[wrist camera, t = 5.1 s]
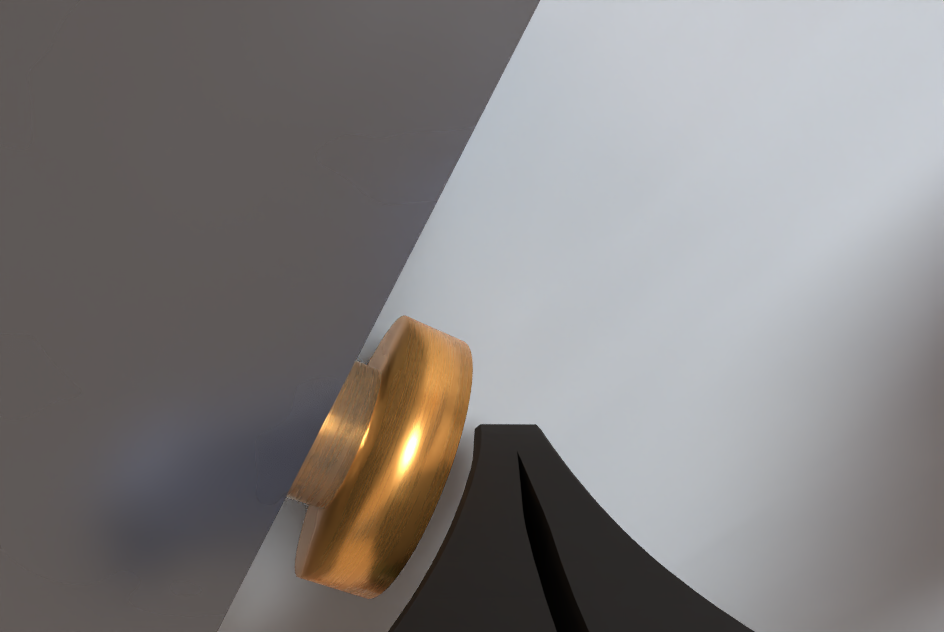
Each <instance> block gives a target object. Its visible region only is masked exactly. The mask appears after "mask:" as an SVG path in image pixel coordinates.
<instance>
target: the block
mask: <svg viewBox="0 0 944 632" xmlns="http://www.w3.org/2000/svg"><path fill="white" fill-rule="evenodd" d="M539 1H540V0H0V632H217V630H218V629H219V627H220V625H221V623H222V621H223V619H224V617H225V615H226V613H227V611H228V609H229V607H230V605H231V603H232V601H233V599H234V597H235V595H236V593H237V591H238V589H239V588H240V586H241V584H242V582H243V580H244V578H245V576H246V574H247V572H248V570H249V568H250V566H251V564H252V562H253V560H254V558H255V556H256V554H257V552H258V550H259V548H260V546H261V545H262V543H263V541H264V539H265V537H266V535H267V533H268V531H269V529H270V527H271V525H272V523H273V521H274V519H275V517H276V515H277V513H278V511H279V509H280V507H281V505H282V504H283V502H284V500H285V498H286V496H287V494H288V492H289V490H290V488H291V486H292V484H293V482H294V480H295V478H296V476H297V474H298V472H299V470H300V468H301V466H302V464H303V462H304V461H305V459H306V457H307V455H308V453H309V451H310V449H311V447H312V445H313V443H314V441H315V439H316V437H317V435H318V433H319V431H320V429H321V427H322V425H323V423H324V421H325V420H326V418H327V416H328V414H329V412H330V410H331V408H332V406H333V404H334V402H335V400H336V398H337V396H338V394H339V392H340V390H341V388H342V386H343V384H344V382H345V380H346V378H347V377H348V375H349V373H350V371H351V369H352V367H353V365H354V363H355V361H356V359H357V357H358V355H359V353H360V351H361V349H362V347H363V345H364V343H365V341H366V339H367V337H368V336H369V334H370V332H371V330H372V328H373V326H374V324H375V322H376V320H377V318H378V316H379V314H380V312H381V310H382V308H383V306H384V304H385V302H386V300H387V298H388V296H389V294H390V293H391V291H392V289H393V287H394V285H395V283H396V281H397V279H398V277H399V275H400V273H401V271H402V269H403V267H404V265H405V263H406V261H407V259H408V257H409V255H410V253H411V252H412V250H413V248H414V246H415V244H416V242H417V240H418V238H419V236H420V234H421V232H422V230H423V228H424V226H425V224H426V222H427V220H428V218H429V216H430V214H431V212H432V210H433V209H434V207H435V205H436V203H437V201H438V199H439V197H440V195H441V193H442V191H443V189H444V187H445V185H446V183H447V181H448V179H449V177H450V175H451V173H452V171H453V169H454V168H455V166H456V164H457V162H458V160H459V158H460V156H461V154H462V152H463V150H464V148H465V146H466V144H467V142H468V140H469V138H470V136H471V134H472V132H473V130H474V128H475V126H476V125H477V123H478V121H479V119H480V117H481V115H482V113H483V111H484V109H485V107H486V105H487V103H488V101H489V99H490V97H491V95H492V93H493V91H494V89H495V87H496V85H497V84H498V82H499V80H500V78H501V76H502V74H503V72H504V70H505V68H506V66H507V64H508V62H509V60H510V58H511V56H512V54H513V52H514V50H515V48H516V46H517V44H518V42H519V41H520V39H521V37H522V35H523V33H524V31H525V29H526V27H527V25H528V23H529V21H530V19H531V17H532V15H533V13H534V11H535V9H536V7H537V5H538V3H539Z"/></svg>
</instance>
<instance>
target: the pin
mask: <svg viewBox="0 0 944 632" xmlns="http://www.w3.org/2000/svg"><path fill="white" fill-rule="evenodd" d="M472 372H473V366H472V355H471V351H470V348H469V346H468V345H467V344H466V343H465V342H464V341H461V340H459V339H457V338H455V337H452V336H450V335H448V334H446V333H443V332H441V331H439V330H437V329H434V328H432V327H430V326H428V325H425V324H423V323H421V322H419V321H416V320H414V319H412V318H410V317H407V316H404V315H403V316H401V317H400V318H399V319H397V320H396V321H395V323H394V324H393V325H392V326H391V327H390V329H389V330H388V331H387V333H386V334H385V336H384V337H383V339H382V341H381V342H380V344H379V345H378V347H377V349H376V351H375V352H374V354H373V356H372V358H371V359H370V361H369V363H368V365H366V364H364V363H361V362H359V361H355V363H354V365H353V367H352V369H351V371H350V373H349V375H348V377H347V378H346V380H345V382H344V384H343V386H342V388H341V390H340V392H339V394H338V396H337V398H336V400H335V402H334V404H333V406H332V408H331V410H330V412H329V414H328V416H327V418H326V420H325V421H324V423H323V425H322V427H321V429H320V431H319V433H318V435H317V437H316V439H315V441H314V443H313V445H312V447H311V449H310V451H309V453H308V455H307V457H306V459H305V461H304V462H303V464H302V466H301V468H300V470H299V472H298V474H297V476H296V478H295V480H294V482H293V484H292V486H291V488H290V490H289V492H288V494H287V496H286V497H288V498H291V499H294V500H297V501H299V502H302V503H305V504H308V505H309V506H308V509H307V512H306V516H305V519H304V522H303V526H302V530H301V534H300V538H299V542H298V547H297V552H296V558H295V574H296V576H297V577H299V578H302V579H305V580H308V581H312V582H315V583H318V584H321V585H325V586H328V587H331V588H334V589H338V590H341V591H344V592H347V593H351V594H354V595H357V596H360V597H364V598H367V599H371V598H375V597H377V596H378V595H380V594H381V593H383V592H384V591H385V590H386V589H387V588H388V587H389V586H390V585H391V583H392V582H393V581H394V580H395V579H396V578H397V576H398V575H399V573H400V572H401V571H402V569H403V568H404V566H405V565H406V563H407V562H408V560H409V558H410V557H411V555H412V553H413V552H414V550H415V548H416V546H417V544H418V543H419V541H420V539H421V537H422V535H423V533H424V531H425V529H426V527H427V525H428V523H429V521H430V519H431V517H432V514H433V512H434V510H435V508H436V505H437V503H438V501H439V498H440V496H441V494H442V491H443V488H444V486H445V483H446V480H447V478H448V475H449V473H450V470H451V467H452V464H453V461H454V458H455V455H456V452H457V448H458V445H459V441H460V438H461V435H462V431H463V427H464V423H465V419H466V415H467V410H468V404H469V399H470V393H471V385H472Z"/></svg>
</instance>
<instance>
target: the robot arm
mask: <svg viewBox="0 0 944 632" xmlns="http://www.w3.org/2000/svg"><path fill="white" fill-rule="evenodd" d="M388 632H754V631H753V630H751V629H749V628H748V627H746V626H745V625H743V624H742V623H740V622H739V621H737V620H736V619H734V618H733V617H731V616H730V615H728V614H727V613H725V612H724V611H722V610H721V609H719V608H718V607H716V606H715V605H714V604H712V603H711V602H709V601H708V600H707V599H705V598H704V597H702V596H701V595H700V594H698V593H697V592H695V591H694V590H693V589H692V588H690V587H689V586H688V585H686V584H685V583H684V582H683V581H681V580H680V579H679V578H677V577H676V576H675V575H674V574H672V573H671V572H670V571H668V570H667V569H666V568H665V567H664V566H662V565H661V564H660V563H659V562H658V561H656V560H655V559H654V558H653V557H652V556H650V555H649V554H648V553H647V552H646V551H645V550H644V549H643V548H642V547H641V546H639V545H638V544H637V543H636V542H635V541H634V540H633V539H632V538H631V537H630V536H629V535H628V534H627V533H626V532H625V531H624V530H623V529H622V528H621V527H620V526H619V525H618V524H617V523H616V522H615V521H614V520H613V519H612V518H611V517H610V516H609V515H608V514H607V513H606V511H605V510H604V509H603V508H602V507H601V506H600V505H599V504H598V503H597V502H596V500H595V499H594V498H593V497H592V496H591V495H590V494H589V492H588V491H587V490H586V489H585V487H584V486H583V485H582V484H581V483H580V481H579V480H578V479H577V478H576V477H575V475H574V474H573V473H572V472H571V470H570V469H569V468H568V467H567V465H566V464H565V463H564V461H563V460H562V459H561V457H560V456H559V455H558V453H557V452H556V450H555V449H554V448H553V446H552V445H551V443H550V442H549V441H548V439H547V438H546V436H545V435H544V433H543V432H542V431H541V429H540V428H539V427H538V426H537V425H518V424H480V425H479V426H478V427H477V428H475V433H474V451H473V461H472V466H471V469H470V473H469V476H468V480H467V483H466V487H465V490H464V493H463V496H462V498H461V501H460V503H459V506H458V509H457V511H456V514H455V516H454V519H453V521H452V524H451V526H450V528H449V530H448V533H447V535H446V537H445V539H444V541H443V543H442V545H441V547H440V549H439V551H438V553H437V555H436V557H435V559H434V561H433V563H432V564H431V566H430V568H429V570H428V571H427V573H426V575H425V577H424V578H423V580H422V582H421V584H420V585H419V587H418V588H417V590H416V592H415V593H414V595H413V596H412V598H411V600H410V601H409V603H408V604H407V605H406V607H405V608H404V610H403V611H402V613H401V614H400V616H399V617H398V618H397V620H396V621H395V623H394V624H393V626H392V627H391V629H390V630H389V631H388Z"/></svg>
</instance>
